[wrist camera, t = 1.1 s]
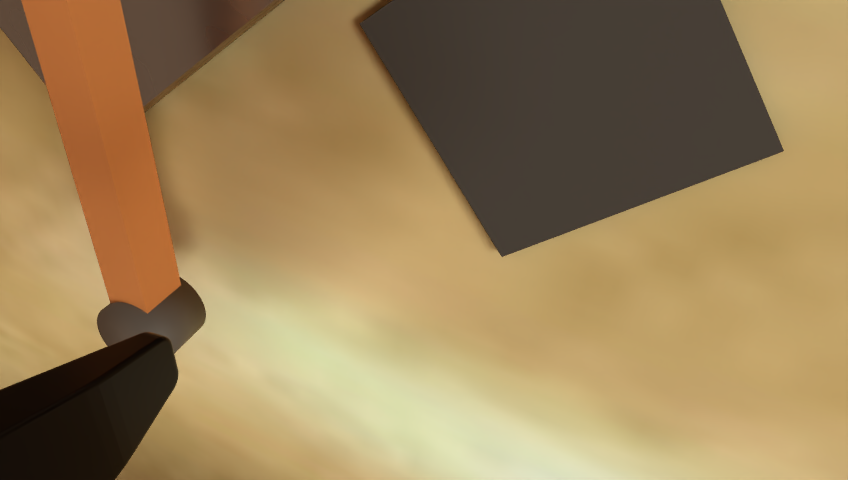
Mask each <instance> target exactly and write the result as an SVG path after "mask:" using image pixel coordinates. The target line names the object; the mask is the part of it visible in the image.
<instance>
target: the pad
mask: <svg viewBox="0 0 848 480" xmlns="http://www.w3.org/2000/svg"><path fill="white" fill-rule="evenodd" d="M360 25H361V27H362V29H363V30H364V32H365V34H366V35H367V37H368V38H369V40H370V42H371V43H372V45H373V47H374V48H375V50H376V52H377V53H378V55H379V56H380V58H381V60H382V61H383V63H384V65H385V66H386V68H387V70H388V71H389V73H390V75H391V76H392V78H393V79H394V81H395V83H396V84H397V86H398V88H399V89H400V91H401V93H402V94H403V96H404V97H405V99H406V101H407V102H408V104H409V106H410V107H411V109H412V111H413V112H414V114H415V116H416V117H417V119H418V120H419V122H420V124H421V125H422V127H423V129H424V130H425V132H426V134H427V135H428V137H429V138H430V140H431V142H432V143H433V145H434V147H435V148H436V150H437V152H438V153H439V155H440V156H441V158H442V160H443V161H444V163H445V165H446V166H447V168H448V170H449V171H450V173H451V175H452V176H453V178H454V179H455V181H456V183H457V184H458V186H459V188H460V189H461V191H462V193H463V194H464V196H465V197H466V199H467V201H468V202H469V204H470V206H471V207H472V209H473V211H474V212H475V214H476V215H477V217H478V219H479V220H480V222H481V224H482V225H483V227H484V229H485V230H486V232H487V234H488V235H489V237H490V238H491V240H492V242H493V243H494V245H495V247H496V248H497V250H498V252H499V253H500V255H501V256H502V257H503V256H506V255H508V254H511V253H514V252H516V251H519V250H522V249H524V248H527V247H530V246H532V245H535V244H538V243H540V242H543V241H546V240H548V239H551V238H554V237H556V236H559V235H562V234H564V233H567V232H570V231H572V230H575V229H578V228H580V227H583V226H586V225H588V224H591V223H594V222H596V221H599V220H602V219H604V218H607V217H610V216H612V215H615V214H618V213H620V212H623V211H626V210H628V209H631V208H634V207H636V206H639V205H642V204H644V203H647V202H650V201H652V200H655V199H658V198H660V197H663V196H666V195H668V194H671V193H674V192H676V191H679V190H682V189H684V188H687V187H690V186H692V185H695V184H698V183H700V182H703V181H706V180H708V179H711V178H714V177H716V176H719V175H722V174H724V173H727V172H730V171H732V170H735V169H738V168H740V167H743V166H746V165H748V164H751V163H754V162H756V161H759V160H762V159H764V158H767V157H770V156H772V155H775V154H778V153H780V152H783V151H784V150H783V148H782V145H781V143H780V141H779V138H778V136H777V134H776V131H775V129H774V126H773V124H772V122H771V119H770V117H769V115H768V112H767V110H766V107H765V105H764V103H763V100H762V98H761V96H760V93H759V91H758V88H757V86H756V84H755V81H754V79H753V77H752V74H751V72H750V69H749V67H748V65H747V62H746V60H745V58H744V55H743V53H742V50H741V48H740V46H739V43H738V41H737V39H736V36H735V34H734V31H733V29H732V27H731V24H730V22H729V20H728V17H727V15H726V12H725V10H724V8H723V5H722V3H721V1H720V0H393V1H391V2H390V3H388V4H387V5H386V6H384V7H383V8H381V9H380V10H378V11H377V12H376V13H374V14H373V15H371V16H370V17H369V18H367V19H366V20H364V21H363V22H361V23H360Z"/></svg>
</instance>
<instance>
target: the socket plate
mask: <svg viewBox="0 0 848 480" xmlns="http://www.w3.org/2000/svg"><path fill="white" fill-rule="evenodd" d="M120 1H121V6H122V10H123V15H124V20H125V24H126V29H127V34H128V38H129V43H130V48H131V52H132V57H133V62H134V66H135V71H136V76H137V80H138V85H139V90H140V95H141V99H142V104H143V109H144V113H145V112H146V111H147V110H148V109H150V108H151V107H152V106H153V105H155V104H156V103H157V102H158V101H160V100H161V99H162V98H163V97H165V96H166V95H167V94H168V93H170V92H171V91H172V90H173V89H175V88H176V87H177V86H178V85H180V84H181V83H182V82H183V81H184V80H186V79H187V78H188V77H189V76H191V75H192V74H193V73H194V72H196V71H197V70H198V69H199V68H201V67H202V66H203V65H204V64H206V63H207V62H208V61H209V60H211V59H212V58H213V57H214V56H216V55H217V54H218V53H219V52H221V51H222V50H223V49H224V48H226V47H227V46H228V45H229V44H231V43H232V42H233V41H234V40H236V39H237V38H238V37H239V36H241V35H242V34H243V33H244V32H246V31H247V30H248V29H249V28H251V27H252V26H253V25H254V24H256V23H257V22H258V21H259V20H261V19H262V18H263V17H264V16H266V15H267V14H268V13H269V12H270V11H272V10H273V9H274V8H275V7H277V6H278V5H279V4H280V3H282V2H283V1H284V0H120ZM0 28H1V29H2V30H3V32H4V33H5V34H6V35H7V37H8V38H9V39H10V40H11V42H12V43H13V44H14V45H15V47H16V48H17V49H18V50H19V52H20V53H21V54H22V56H23V57H24V58H25V59H26V61H27V62H28V63H29V64H30V66H31V67H32V68H33V69H34V71H35V72H36V73H37V74H38V76H39V77H40V78H41V79H42V81H43V82H44V83H45V79H44V76H43V72H42V69H41V66H40V62H39V59H38V55H37V52H36V49H35V45H34V42H33V39H32V35H31V32H30V28H29V25H28V22H27V18H26V15H25V11H24V8H23V5H22V1H21V0H0ZM45 84H46V83H45Z"/></svg>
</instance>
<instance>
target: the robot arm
mask: <svg viewBox="0 0 848 480" xmlns="http://www.w3.org/2000/svg"><path fill="white" fill-rule="evenodd" d="M177 380H178V368H177V364H176V360H175V355H174V351H173V346H172V343H171V341H170V340H169V338H167V337H166V336H162V335H159V334H155V333H152V332H143V333H140V334H138V335H135V336H133V337H130V338H128V339H125V340H123V341H120V342H118V343H115V344H113V345H110V346H108V347H105V348H103V349H100V350H98V351H95V352H93V353H90V354H88V355H85V356H83V357H80V358H78V359H76V360H73V361H71V362H68V363H66V364H63V365H61V366H58V367H56V368H53V369H51V370H48V371H46V372H43V373H41V374H38V375H36V376H33V377H31V378H28V379H26V380H23V381H21V382H18V383H16V384H13V385H11V386H8V387H6V388H4V389H1V390H0V480H115V479H116V478H117V476H118V475H119V473H120V472H121V471H122V469H123V468H124V467H125V465H126V464H127V462H128V461H129V459H130V458H131V456H132V455H133V453H134V452H135V450H136V448H137V447H138V445H139V444H140V442H141V440H142V439H143V437H144V436H145V434H146V432H147V431H148V429H149V428H150V426H151V424H152V423H153V421H154V420H155V418H156V417H157V415H158V413H159V412H160V410H161V409H162V407H163V405H164V404H165V402H166V401H167V399H168V397H169V396H170V394H171V393H172V391H173V389H174V388H175V386H176V383H177Z"/></svg>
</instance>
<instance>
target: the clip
mask: <svg viewBox="0 0 848 480" xmlns="http://www.w3.org/2000/svg"><path fill="white" fill-rule="evenodd" d="M21 1H22V5H23V8H24V11H25V15H26V18H27V22H28V25H29V28H30V32H31V35H32V39H33V42H34V45H35V49H36V52H37V55H38V59H39V62H40V66H41V69H42V72H43V76H44V79H45V83H46V86H47V89H48V93H49V96H50V100H51V103H52V106H53V110H54V113H55V116H56V120H57V123H58V127H59V130H60V133H61V137H62V140H63V144H64V147H65V150H66V154H67V157H68V161H69V164H70V167H71V171H72V174H73V178H74V181H75V184H76V188H77V191H78V194H79V198H80V201H81V205H82V208H83V211H84V215H85V218H86V222H87V225H88V228H89V232H90V235H91V239H92V242H93V245H94V249H95V252H96V255H97V259H98V262H99V266H100V269H101V272H102V276H103V279H104V283H105V286H106V289H107V293H108V296H109V300H110V304H109V305H108V306H106V307H105V308H104V309H103V310H101V311H100V313H99V315H98V318H97V325H98V330H99V332H100V335H101V337H102V339H103V340H104V342H105V343H106V345H107V346H110V345H113V344H115V343H118V342H120V341H123V340H125V339H128V338H130V337H133V336H135V335H138V334H140V333H143V332H152V333H155V334H159V335H162V336H166V337H167V338H169V340H170V341H171V343H172V346H173V351H174V353H175V352H176V351H177V350H178V349H179V348H180V347H181V346H182V345H183V344H184V343H185V342H186V341H187V340H189V339H190V338H191V337H192V336H193V335H194V334H195V333H196V332H197V331H198V330H199V329H200V328H201V327H202V326H203V324H204V322H205V318H206V312H205V307H204V304H203V302H202V300H201V298H200V297H199V295H198V294H197V292H196V291H195V290H194V289H193V287H192V286H191V285H189V284H188V283H187V282H186V281H185V280H183V279H182V278H180V277H179V273H178V268H177V263H176V259H175V254H174V249H173V244H172V240H171V235H170V230H169V226H168V221H167V216H166V212H165V207H164V202H163V198H162V193H161V188H160V184H159V179H158V174H157V170H156V165H155V160H154V155H153V151H152V146H151V141H150V137H149V132H148V127H147V123H146V118H145V113H144V109H143V104H142V99H141V95H140V90H139V85H138V80H137V76H136V71H135V66H134V62H133V57H132V52H131V48H130V43H129V38H128V34H127V29H126V24H125V20H124V15H123V10H122V6H121V1H120V0H21Z"/></svg>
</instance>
